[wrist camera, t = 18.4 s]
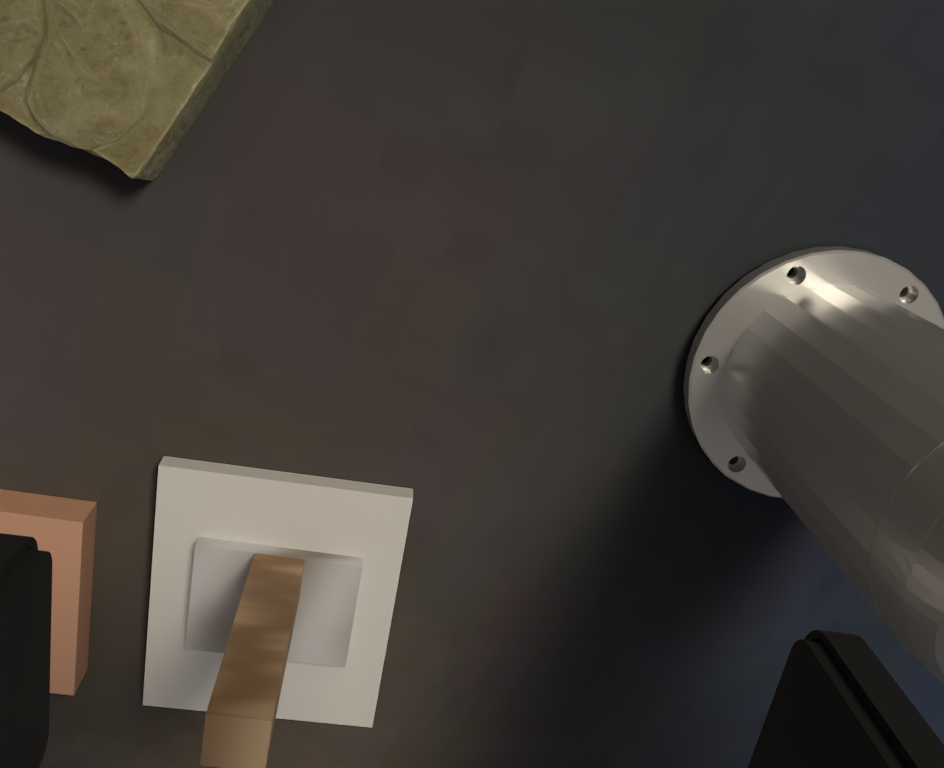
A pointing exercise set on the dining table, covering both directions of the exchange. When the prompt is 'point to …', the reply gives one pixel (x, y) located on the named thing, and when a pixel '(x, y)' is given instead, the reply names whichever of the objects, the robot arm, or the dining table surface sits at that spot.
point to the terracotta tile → (60, 573)
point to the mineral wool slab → (119, 70)
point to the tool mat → (281, 525)
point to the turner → (263, 634)
